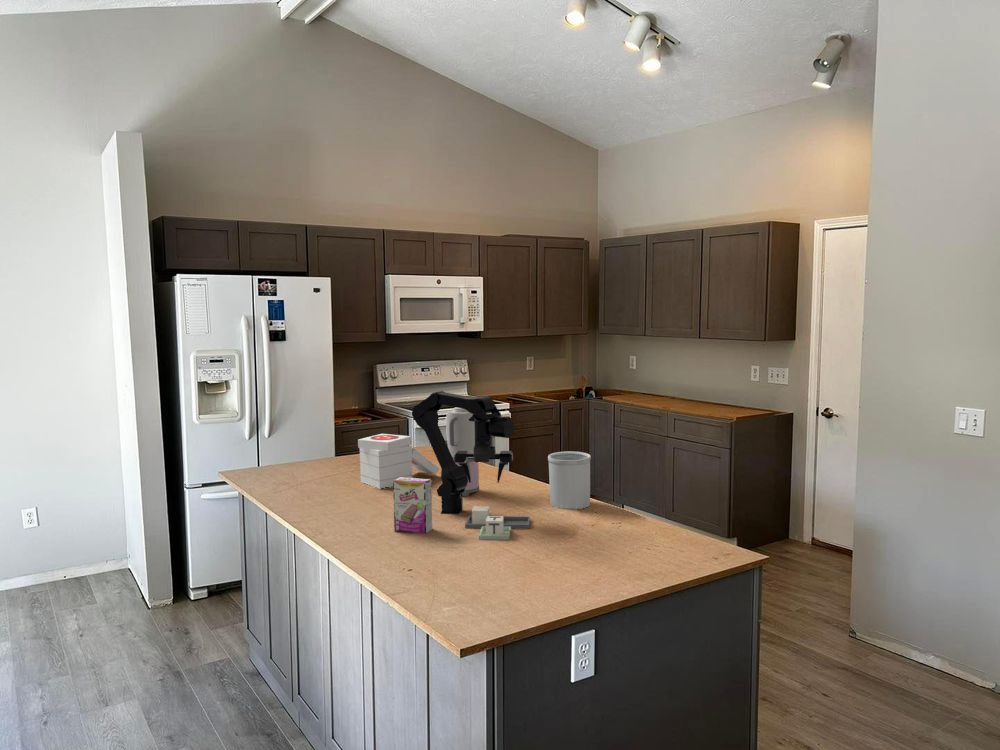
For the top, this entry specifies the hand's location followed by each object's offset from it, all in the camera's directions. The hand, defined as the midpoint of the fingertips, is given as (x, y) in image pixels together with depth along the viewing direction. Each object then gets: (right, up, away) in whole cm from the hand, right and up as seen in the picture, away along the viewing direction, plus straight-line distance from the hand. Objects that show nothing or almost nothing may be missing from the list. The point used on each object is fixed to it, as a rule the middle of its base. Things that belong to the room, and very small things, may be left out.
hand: (484, 482), depth 244 cm
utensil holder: (+29, -10, +16) cm, 35 cm away
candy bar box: (-22, -14, -11) cm, 28 cm away
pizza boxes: (-36, -7, +56) cm, 67 cm away
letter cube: (+4, -13, -18) cm, 22 cm away
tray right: (+10, -13, -7) cm, 18 cm away
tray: (+4, -14, -18) cm, 23 cm away
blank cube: (-1, -12, -6) cm, 14 cm away
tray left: (-1, -13, -6) cm, 14 cm away
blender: (-9, -9, +34) cm, 36 cm away
